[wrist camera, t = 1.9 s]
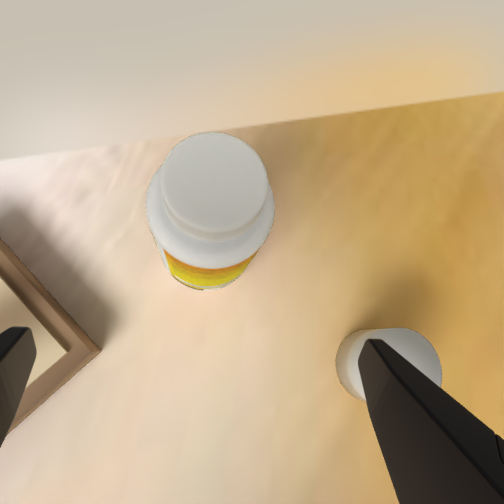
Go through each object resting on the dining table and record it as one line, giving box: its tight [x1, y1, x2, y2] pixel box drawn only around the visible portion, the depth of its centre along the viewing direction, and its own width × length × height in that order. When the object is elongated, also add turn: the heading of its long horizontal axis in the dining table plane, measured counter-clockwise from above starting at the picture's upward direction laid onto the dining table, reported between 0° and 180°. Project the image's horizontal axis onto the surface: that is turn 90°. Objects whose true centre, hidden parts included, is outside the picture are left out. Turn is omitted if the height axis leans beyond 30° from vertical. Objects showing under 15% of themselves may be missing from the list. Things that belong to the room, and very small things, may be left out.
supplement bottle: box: [146, 132, 275, 291], centre depth 18 cm, size 6×6×10 cm
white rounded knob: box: [336, 328, 442, 402], centre depth 21 cm, size 4×4×4 cm
